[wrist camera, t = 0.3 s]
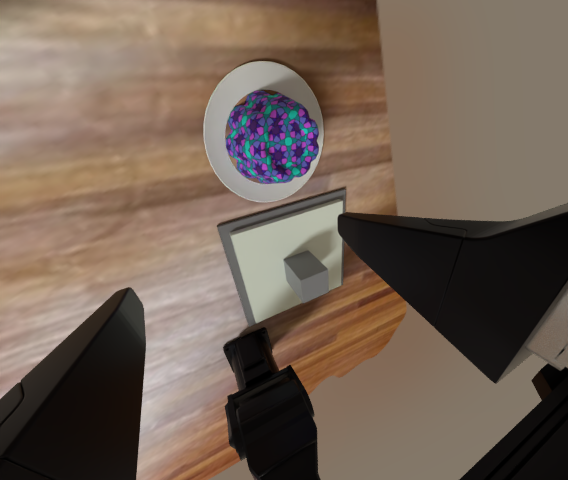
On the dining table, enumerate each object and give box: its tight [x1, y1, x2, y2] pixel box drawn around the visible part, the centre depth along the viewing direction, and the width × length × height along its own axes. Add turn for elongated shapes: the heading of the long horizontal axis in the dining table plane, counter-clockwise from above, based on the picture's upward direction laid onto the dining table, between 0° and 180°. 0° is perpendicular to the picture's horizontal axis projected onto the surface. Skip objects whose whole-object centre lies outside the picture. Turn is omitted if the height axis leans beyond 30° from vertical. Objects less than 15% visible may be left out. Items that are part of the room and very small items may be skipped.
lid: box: [230, 199, 343, 323], centre depth 27 cm, size 14×14×5 cm
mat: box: [217, 189, 346, 327], centre depth 29 cm, size 16×16×1 cm
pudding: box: [204, 61, 324, 202], centre depth 19 cm, size 12×12×5 cm
